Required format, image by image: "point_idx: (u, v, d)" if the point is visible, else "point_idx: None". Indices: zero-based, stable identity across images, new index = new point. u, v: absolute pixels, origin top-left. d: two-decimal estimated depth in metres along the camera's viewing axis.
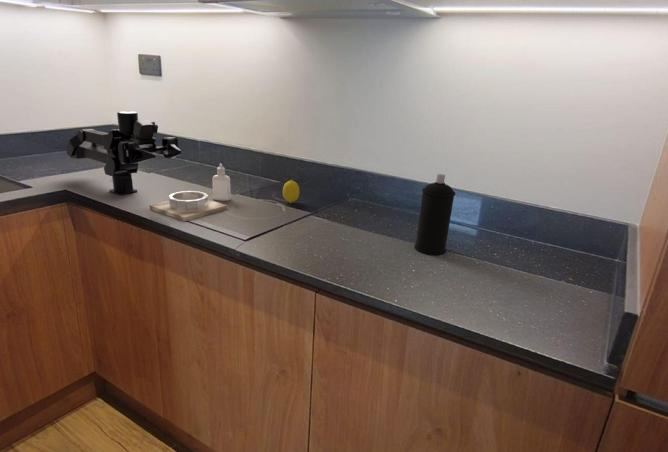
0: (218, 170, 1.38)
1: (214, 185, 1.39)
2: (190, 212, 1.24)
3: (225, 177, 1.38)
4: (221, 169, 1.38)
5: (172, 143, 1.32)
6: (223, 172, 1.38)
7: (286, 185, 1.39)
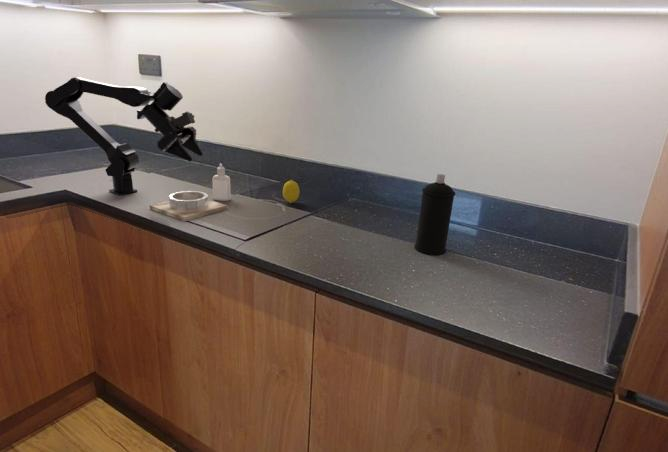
0: (218, 170, 1.38)
1: (214, 185, 1.39)
2: (190, 212, 1.24)
3: (225, 177, 1.38)
4: (221, 169, 1.38)
5: (194, 138, 1.42)
6: (223, 172, 1.38)
7: (286, 185, 1.39)
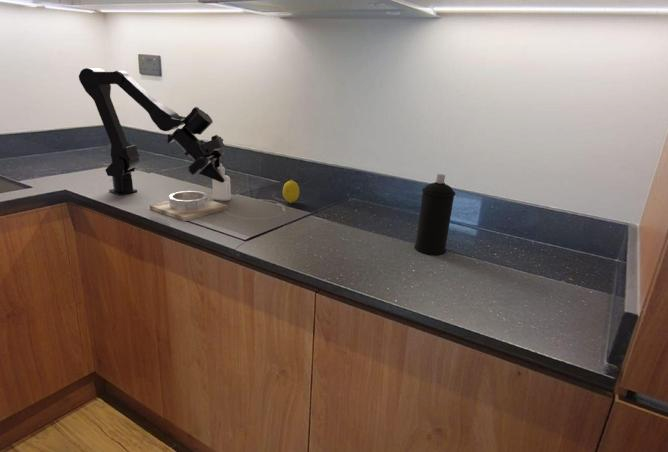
0: (218, 170, 1.38)
1: (214, 185, 1.39)
2: (190, 212, 1.24)
3: (225, 177, 1.38)
4: (221, 169, 1.38)
5: (220, 162, 1.41)
6: (223, 172, 1.38)
7: (286, 185, 1.39)
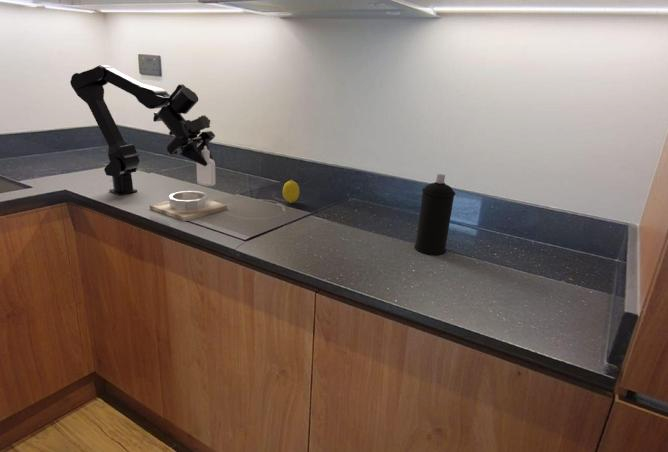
0: (202, 153, 1.29)
1: (198, 168, 1.31)
2: (190, 212, 1.24)
3: (209, 160, 1.30)
4: (205, 152, 1.29)
5: (207, 144, 1.33)
6: (207, 155, 1.30)
7: (286, 185, 1.39)
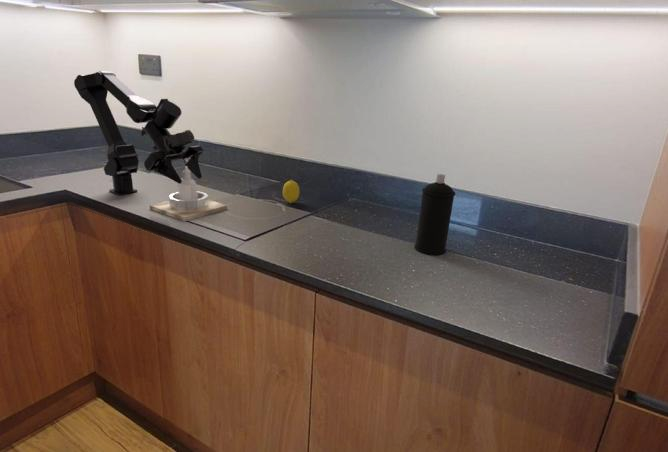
0: (182, 173, 1.26)
1: (179, 189, 1.28)
2: (190, 212, 1.24)
3: (188, 181, 1.26)
4: (185, 172, 1.26)
5: (196, 159, 1.31)
6: (187, 176, 1.26)
7: (286, 185, 1.39)
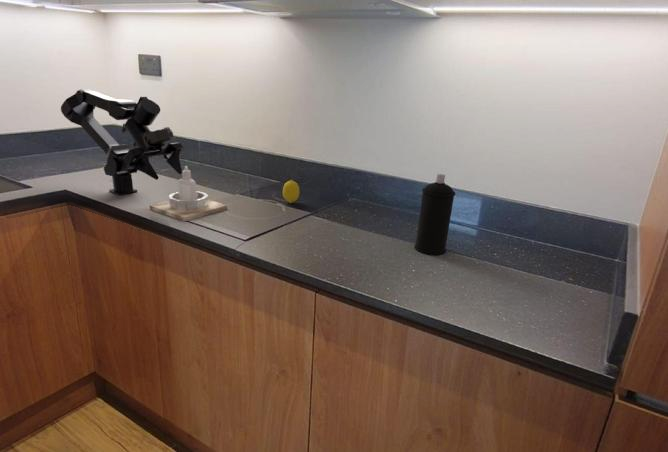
0: (182, 173, 1.26)
1: (179, 189, 1.28)
2: (190, 212, 1.24)
3: (188, 181, 1.26)
4: (185, 172, 1.25)
5: (177, 155, 1.35)
6: (187, 176, 1.26)
7: (286, 185, 1.39)
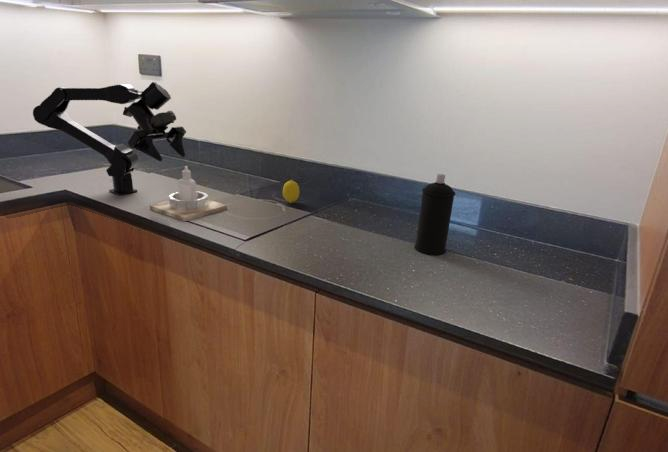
0: (182, 173, 1.26)
1: (179, 189, 1.28)
2: (190, 212, 1.24)
3: (188, 181, 1.26)
4: (185, 172, 1.25)
5: (180, 138, 1.38)
6: (187, 176, 1.26)
7: (286, 185, 1.39)
